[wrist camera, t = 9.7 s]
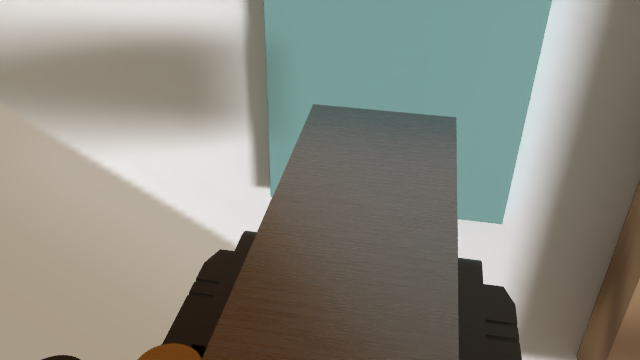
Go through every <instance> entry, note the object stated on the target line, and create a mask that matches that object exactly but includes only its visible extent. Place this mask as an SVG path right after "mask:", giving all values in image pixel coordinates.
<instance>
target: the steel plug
mask: <svg viewBox="0 0 640 360" xmlns="http://www.w3.org/2000/svg"><path fill="white" fill-rule="evenodd" d="M202 360H459V331H458V228H457V125H456V117H447V116H437V115H426V114H415V113H404V112H393V111H383V110H372V109H361V108H350V107H339V106H328V105H318V104H313V106H312V108H311V110H310V113H309V115H308V117H307V119H306V122H305V124H304V126H303V129H302V131H301V133H300V135H299V138H298V140H297V142H296V145H295V147H294V149H293V151H292V154H291V156H290V158H289V161H288V163H287V165H286V168H285V170H284V172H283V174H282V177H281V179H280V181H279V184H278V186H277V188H276V190H275V193H274V195H273V197H272V200H271V202H270V204H269V206H268V209H267V211H266V213H265V216H264V218H263V220H262V223H261V225H260V227H259V229H258V232H257V234H256V236H255V239H254V241H253V243H252V245H251V248H250V250H249V252H248V255H247V257H246V259H245V261H244V264H243V266H242V268H241V271H240V273H239V275H238V277H237V280H236V282H235V284H234V287H233V289H232V291H231V294H230V296H229V298H228V300H227V303H226V305H225V307H224V310H223V312H222V314H221V316H220V319H219V321H218V323H217V326H216V328H215V330H214V332H213V335H212V337H211V339H210V342H209V344H208V346H207V349H206V351H205V353H204V355H203V358H202Z"/></svg>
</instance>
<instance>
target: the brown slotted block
mask: <svg viewBox="0 0 640 360" xmlns="http://www.w3.org/2000/svg"><path fill="white" fill-rule="evenodd" d="M577 360H640V182H639V184H638V187H637V190H636V193H635V196H634V198H633V201H632V204H631V207H630V209H629V212H628V215H627V218H626V221H625V223H624V226H623V229H622V232H621V234H620V237H619V240H618V243H617V245H616V248H615V251H614V254H613V257H612V259H611V262H610V265H609V268H608V270H607V273H606V276H605V279H604V282H603V284H602V287H601V290H600V293H599V295H598V298H597V301H596V304H595V307H594V309H593V312H592V315H591V318H590V320H589V323H588V326H587V329H586V332H585V334H584V337H583V340H582V343H581V345H580V348H579V351H578V354H577Z"/></svg>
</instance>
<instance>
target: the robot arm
mask: <svg viewBox="0 0 640 360" xmlns="http://www.w3.org/2000/svg"><path fill="white" fill-rule="evenodd" d="M256 234H257V232H250V231H245V232H244V233H243V234H242V236H241V239H240V241H239V243H238V245H237V247H236V249H235V251H228V250H219V251H218V252H217V253H215V254H214V255H213V256H212V257H211V258H209V259H208V260H207V261H206V262H205V263H204V265H203V266H202V268H201V270H200V272H199V274H198V276H197V278H196V282H194V284H193V286H192V288H191V290H190V292H189V295H188V296H187V297H186V299H185V301H184V303H183V305H182V307H181V309H180V311H179V313H178V315H177V317H176V319H175V321H174V322H173V324H172V326H171V328H170V330H169V332H168V334H167V336H166V338H165V340H164V342H163V344H162V345H160V346H157V347H154V348H152V349H150V350H148V351H147V352H145V353H144V354H143V355H142V356H141V357H140V358H139V359H138V360H202V358H203V355H204V353H205V351H206V349H207V346H208V344H209V342H210V339H211V337H212V335H213V332H214V330H215V328H216V326H217V323H218V321H219V319H220V316H221V314H222V312H223V310H224V307H225V305H226V303H227V300H228V298H229V296H230V294H231V291H232V289H233V287H234V284H235V282H236V280H237V277H238V275H239V273H240V271H241V268H242V266H243V264H244V261H245V259H246V257H247V255H248V252H249V250H250V248H251V245H252V243H253V241H254V239H255V236H256ZM458 331H459V360H522V358H521V350H520V343H519V333H518V327H517V316H516V308H515V304H514V302H513V301H512V299H511V298H510V296H509V295H508V293H507V292H506V290H505V288H504V287H501V286H493V285H486V284H483V273H482V262H481V261H479V260H471V259H463V258H458ZM42 360H80V359H78V358H76V357H73V356H67V355H58V356H52V357H48V358H45V359H42Z"/></svg>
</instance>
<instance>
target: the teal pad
mask: <svg viewBox="0 0 640 360" xmlns="http://www.w3.org/2000/svg"><path fill="white" fill-rule="evenodd" d="M551 2H552V0H264V21H265V49H266V77H267V105H268V133H269V161H270V189H271V197H273V195H274V193H275V190H276V188H277V186H278V184H279V181H280V179H281V177H282V174H283V172H284V170H285V168H286V165H287V163H288V161H289V158H290V156H291V154H292V151H293V149H294V147H295V145H296V142H297V140H298V138H299V135H300V133H301V131H302V129H303V126H304V124H305V122H306V119H307V117H308V115H309V113H310V110H311V108H312V106H313V104H318V105H328V106H339V107H350V108H361V109H372V110H383V111H393V112H404V113H415V114H426V115H437V116H447V117H456V125H457V219H463V220H471V221H480V222H488V223H496V224H502V222H503V217H504V213H505V208H506V204H507V199H508V195H509V190H510V186H511V181H512V177H513V172H514V168H515V163H516V159H517V154H518V150H519V145H520V141H521V136H522V132H523V127H524V123H525V118H526V114H527V109H528V105H529V100H530V96H531V91H532V87H533V82H534V78H535V73H536V69H537V64H538V60H539V56H540V51H541V47H542V42H543V38H544V33H545V29H546V24H547V20H548V15H549V11H550V6H551Z"/></svg>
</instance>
